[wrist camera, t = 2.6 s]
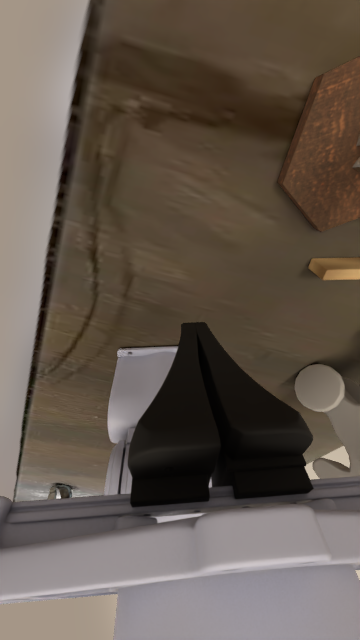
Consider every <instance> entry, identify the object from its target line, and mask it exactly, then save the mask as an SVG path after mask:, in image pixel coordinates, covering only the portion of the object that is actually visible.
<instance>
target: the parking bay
mask: <svg viewBox="0 0 360 640" xmlns="http://www.w3.org/2000/svg"><path fill="white" fill-rule="evenodd" d="M308 268H309V269H310V270H311V271H312V272H314V273H315V274H316V275H317V276H318V277H319V278H321V279H322V280H349V279H360V257H352V258H312V259H311V262H310V264H309V267H308Z"/></svg>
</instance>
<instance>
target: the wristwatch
mask: <svg viewBox="0 0 360 640" xmlns="http://www.w3.org/2000/svg"><path fill="white" fill-rule="evenodd" d="M56 488H58V489H59V490H60V495H61V499H62V498H71V497H72V492H71V489H70V487H69V486H66V485H61V486H60V485H56V486H52V487H51V488H50V494H49V495H48V500H49V499H56V495H57V492H56Z"/></svg>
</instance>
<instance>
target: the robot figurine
mask: <svg viewBox="0 0 360 640" xmlns="http://www.w3.org/2000/svg"><path fill="white" fill-rule="evenodd" d="M277 182H278V184H279V185H280V186H281V187H282V189H283V190H284V191H285V192H286V194H287V195H288V196H289V197H290V199H291V200H292V201H293V202H294V204H295V205H296V206H297V207H298V209H299V210H300V211H301V212H302V214H303V215H304V216H305V217H306V218H307V220H308V221H309V222H310V223H311V225H312V226H313V227H314V228H315V229H317V230H318V231H320V232H322V231H325V230H327V229H330V228H333V227H335V226H338V225H341V224H343V223H346V222H349V221H351V220H354V219H357V218H360V56H359V57H357V58H355V59H353V60H351V61H348V62H346V63H344V64H342V65H340V66H338V67H336V68H334V69H332V70H330V71H328V72H326V73H324V74H322V75H320V76H318V77H316V78H315V79H314V82H313V85H312V88H311V90H310V93H309V96H308V99H307V101H306V104H305V107H304V110H303V112H302V115H301V118H300V121H299V123H298V126H297V129H296V132H295V134H294V137H293V140H292V143H291V145H290V148H289V151H288V154H287V156H286V159H285V162H284V165H283V167H282V170H281V173H280V176H279V178H278V181H277Z"/></svg>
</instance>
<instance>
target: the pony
mask: <svg viewBox="0 0 360 640" xmlns="http://www.w3.org/2000/svg"><path fill="white" fill-rule="evenodd" d="M295 392H296V395H297V398H298V400H299V401H300V402H301V403H302V404H303V406H305V407H307V408H309V409H311V410H313V411H316V412H324V413H325V414H326V415H327V416H328V417H329V418H330V420H331V423H332V427H333V429H334V431H335V433H336V435H337V436H338V438H339V439H340V441H341V442H342V444H343V445H344V446H345V448H346V451H347V453H348V455H349V460H350V469H349V468H348V467H346V466H344V465H343V464H341V463H339V462H335V461H332V460H328V459H325V458H318V459H316V460H314V462H313V469H314V471H315V473H316V474H317V476H318V477H319V478H320V479H327V478H340V477H354V476H360V385H358V384H357V383H356V382H355V381H353V380H351V379H348V378H344V377H341V375H340V374H339V373H338V372H336V371H335V370H334V369H333V368H332V367H330V366H326V365H322V364H315V365H310V366H308V367H306V368H305V369H303V370H302V371H300V373H299V375H298V376H297V378H296V381H295Z"/></svg>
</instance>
